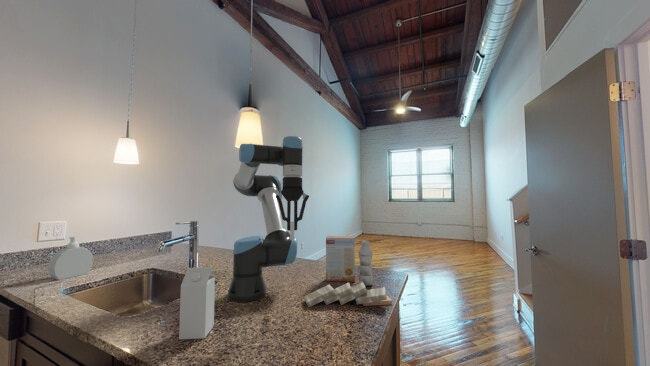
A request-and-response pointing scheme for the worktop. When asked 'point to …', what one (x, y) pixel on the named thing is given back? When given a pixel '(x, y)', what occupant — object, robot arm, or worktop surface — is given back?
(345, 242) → the cracker box
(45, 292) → the worktop surface
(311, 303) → the domino
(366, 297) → the domino
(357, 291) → the domino
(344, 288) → the domino
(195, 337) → the milk carton
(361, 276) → the plastic bottle
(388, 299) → the domino end
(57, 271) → the soap bottle
